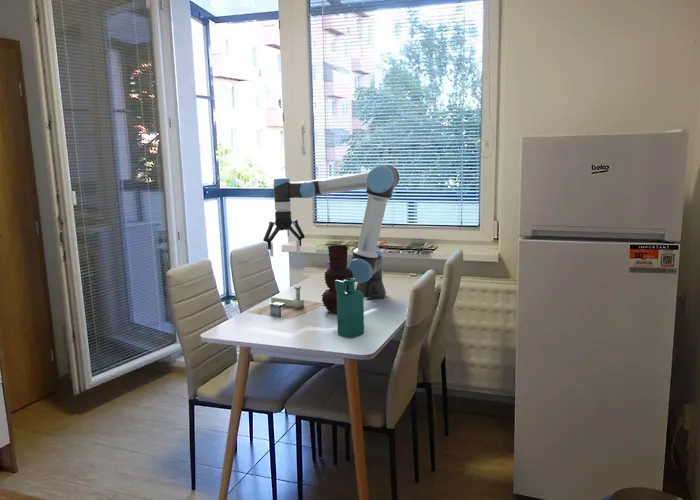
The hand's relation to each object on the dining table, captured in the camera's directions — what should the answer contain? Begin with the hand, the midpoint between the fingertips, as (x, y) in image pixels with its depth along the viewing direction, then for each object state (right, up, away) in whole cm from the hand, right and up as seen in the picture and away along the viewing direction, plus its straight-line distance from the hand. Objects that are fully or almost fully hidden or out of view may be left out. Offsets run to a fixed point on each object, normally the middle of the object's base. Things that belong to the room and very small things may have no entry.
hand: (285, 254), depth 269 cm
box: (+25, -16, +36) cm, 47 cm away
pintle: (+8, -20, -18) cm, 28 cm away
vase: (+27, -26, -26) cm, 45 cm away
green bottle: (+31, -31, -54) cm, 69 cm away
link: (+3, -23, -15) cm, 27 cm away
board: (+4, -25, -18) cm, 31 cm away
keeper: (0, -26, -30) cm, 39 cm away
